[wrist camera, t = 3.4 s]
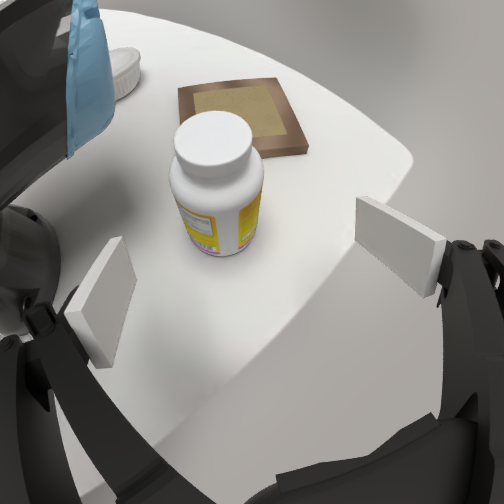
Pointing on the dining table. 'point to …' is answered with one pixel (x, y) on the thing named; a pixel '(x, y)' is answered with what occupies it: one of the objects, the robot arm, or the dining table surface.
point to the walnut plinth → (250, 112)
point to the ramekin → (125, 70)
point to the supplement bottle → (217, 181)
